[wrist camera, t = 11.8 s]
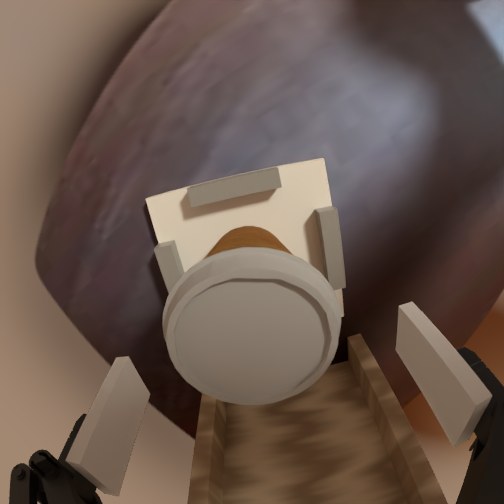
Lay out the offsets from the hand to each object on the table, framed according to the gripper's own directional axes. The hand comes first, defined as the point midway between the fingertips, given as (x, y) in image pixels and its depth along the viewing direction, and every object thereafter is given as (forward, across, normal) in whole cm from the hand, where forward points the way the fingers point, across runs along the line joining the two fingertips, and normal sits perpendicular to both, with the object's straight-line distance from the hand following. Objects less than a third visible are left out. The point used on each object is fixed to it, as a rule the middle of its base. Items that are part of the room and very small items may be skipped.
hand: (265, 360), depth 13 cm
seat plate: (+14, 0, 0) cm, 14 cm away
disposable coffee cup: (+13, -1, 0) cm, 13 cm away
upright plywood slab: (+14, 0, -14) cm, 20 cm away
